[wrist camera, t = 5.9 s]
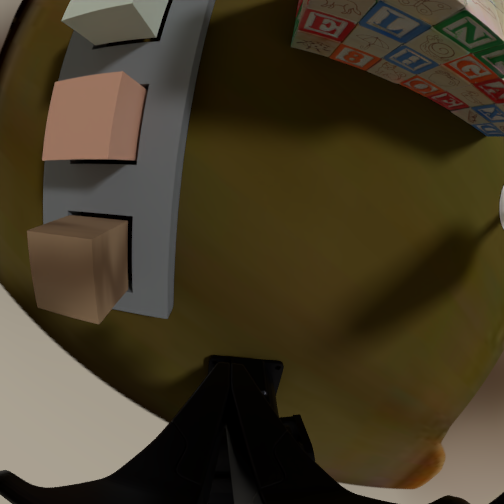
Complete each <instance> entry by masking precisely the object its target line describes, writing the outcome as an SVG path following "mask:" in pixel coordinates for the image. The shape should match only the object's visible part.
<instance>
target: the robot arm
mask: <svg viewBox="0 0 504 504" xmlns="http://www.w3.org/2000/svg"><path fill="white" fill-rule="evenodd" d="M213 360H216V361H217V362H214V361H213ZM276 366H279V367H276ZM283 368H284V366H283V363H282V362H281V361H273V360H258V359H246V358H235V357H225V356H216V355H213V356H211V357H210V359H209V371H208V376H207V377H206V378H205V379H204V381H203V382H202V383H201V385H200V386H199V387H198V388H197V390H196V391H195V392H194V393H193V395H192V396H191V397H190V398H189V400H188V401H187V402H186V403H185V405H184V406H183V407H182V408H181V409H180V411H179V412H178V413H177V414H176V416H175V417H174V418H173V419H172V422H170V423H169V424H168V425H167V426H166V428H165V429H164V430H163V431H162V432H161V433H160V434H159V435H158V436H157V437H156V439H154V440H153V441H152V442H151V443H150V444H149V445H148V446H147V447H146V448H145V449H144V450H142V451H141V452H140V453H139V454H137V455H136V456H135V457H134V458H133V459H132V460H130V461H129V462H128V463H126V464H125V465H124V466H123V467H121V468H120V469H119V470H117V471H116V472H115V473H113V474H111V475H110V476H108V477H105V478H103V479H99V480H95V481H90V482H85V483H81V484H74V485H69V486H62V487H54V488H43V487H38V486H34V485H31V484H29V483H27V482H25V481H24V480H22V479H21V478H19V477H18V476H16V475H15V474H13V473H11V472H10V471H7V470H3V471H0V495H2V496H3V497H4V498H5V499H7V500H8V501H9V502H11V503H12V504H396V503H390V502H386V501H381V500H377V499H373V498H369V497H365V496H361V495H357V494H355V493H352V492H350V491H348V490H346V489H345V488H343V487H342V486H341V485H339V484H338V483H337V482H336V481H335V480H334V479H333V478H332V477H331V476H329V475H328V474H327V473H326V472H325V471H324V470H323V469H322V468H321V467H320V466H319V465H318V464H317V463H316V462H315V457H314V452H313V447H312V444H311V442H310V439H309V436H308V434H307V431H306V429H305V426H304V424H303V421H302V419H301V416H300V414H299V415H293V416H291V417H281V418H279V415H278V409H277V402H276V393H277V389H278V386H279V382H280V379H281V375H282V372H283ZM429 504H470V503H468V502H467V501H466V500H464V499H462V498H459V497H453V496H450V495H448V496H444V497H442V498H440V499H438V500H436V501H434V502H432V503H429ZM489 504H504V492H503V493H502V494H501V495H500V496H499V497H497V498H496V499H494V500H493V501H492V502H491V503H489Z"/></svg>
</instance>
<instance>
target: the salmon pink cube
mask: <svg viewBox="0 0 504 504" xmlns="http://www.w3.org/2000/svg"><path fill="white" fill-rule="evenodd" d="M147 93H148V90H146V89H145V88H144V87H143V86H141V85H140V84H139V83H138V82H136V81H135V80H134V79H132V78H131V77H130V76H129V75H127V74H126V73H125V72H123V71H120V72H111V73H102V74H95V75H89V76H83V77H77V78H72V79H67V80H62V81H57V82H55V85H54V89H53V93H52V98H51V102H50V107H49V113H48V118H47V125H46V131H45V139H44V147H43V157H42V161H45V160H133V161H137V157H138V149H139V141H140V134H141V127H142V121H143V115H144V109H145V103H146V98H147Z"/></svg>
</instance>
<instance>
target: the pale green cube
mask: <svg viewBox="0 0 504 504" xmlns="http://www.w3.org/2000/svg"><path fill="white" fill-rule="evenodd" d="M167 3H168V0H71V1H70V3H69V5H68V7H67V9H66V11H65V14H64V16H63V18H62V22H64V23H65V24H67V25H68V26H69V27H71V28H72V29H74V30H75V31H76V32H78V33H79V34H81V35H82V36H83V37H85V38H86V39H87V40H89V41H90V42H91V43H93V44H94V45H101V44H106V43H112V42H119V41H126V40H135V39H145V38H156V37H157V34H158V30H159V27H160V24H161V21H162V18H163V15H164V12H165V9H166V6H167Z"/></svg>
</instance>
